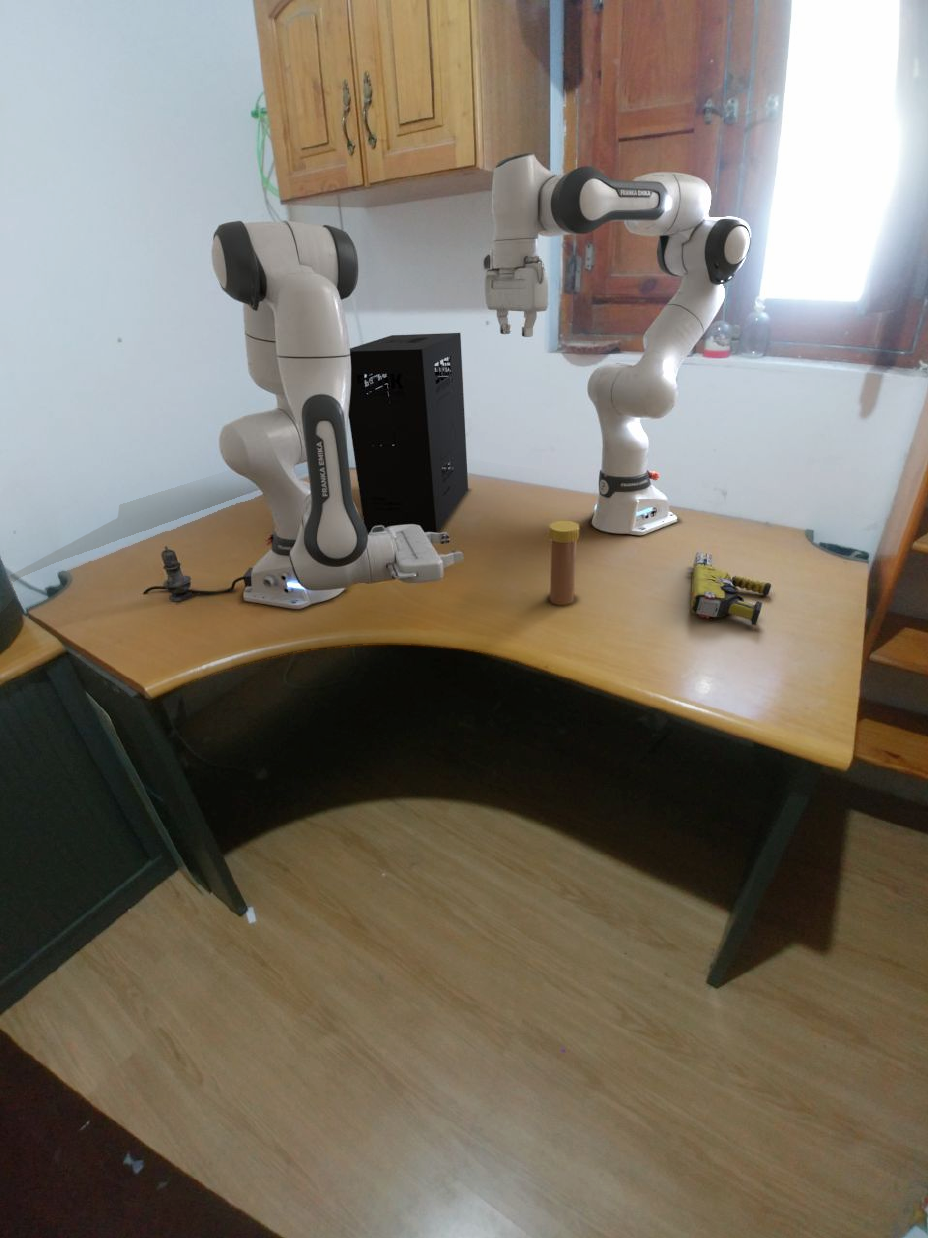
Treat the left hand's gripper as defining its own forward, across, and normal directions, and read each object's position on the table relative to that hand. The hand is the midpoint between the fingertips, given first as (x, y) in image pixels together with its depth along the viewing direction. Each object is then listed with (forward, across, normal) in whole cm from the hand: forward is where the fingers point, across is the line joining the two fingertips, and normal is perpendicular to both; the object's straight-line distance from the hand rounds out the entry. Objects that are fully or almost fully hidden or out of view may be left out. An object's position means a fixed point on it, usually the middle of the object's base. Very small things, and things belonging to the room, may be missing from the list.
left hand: (455, 546), depth 114 cm
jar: (+22, -1, +15) cm, 27 cm away
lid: (+22, -1, -1) cm, 22 cm away
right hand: (+22, +27, -33) cm, 48 cm away
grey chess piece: (-56, +31, +15) cm, 66 cm away
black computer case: (+6, +65, +15) cm, 67 cm away
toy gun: (+54, -12, +15) cm, 57 cm away
